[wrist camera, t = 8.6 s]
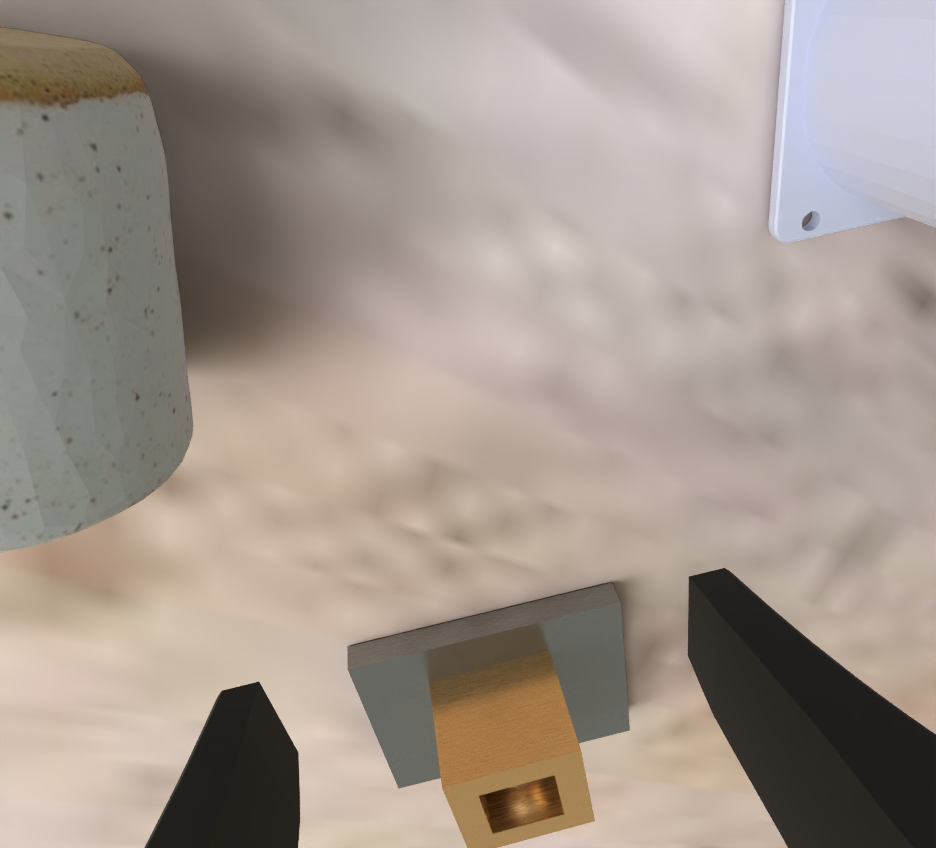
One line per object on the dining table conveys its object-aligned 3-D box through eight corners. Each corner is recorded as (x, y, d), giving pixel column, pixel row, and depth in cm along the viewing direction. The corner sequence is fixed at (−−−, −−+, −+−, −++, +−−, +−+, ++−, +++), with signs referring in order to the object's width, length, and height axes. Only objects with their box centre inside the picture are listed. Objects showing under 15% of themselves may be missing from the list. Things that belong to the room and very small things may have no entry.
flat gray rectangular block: (611, 582, 25) (652, 672, 22) (621, 709, 30) (657, 800, 26) (347, 646, 25) (348, 748, 22) (397, 765, 29) (404, 865, 26)
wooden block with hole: (549, 650, 25) (580, 750, 22) (564, 721, 28) (594, 821, 24) (428, 682, 25) (442, 788, 22) (454, 750, 28) (470, 854, 24)
